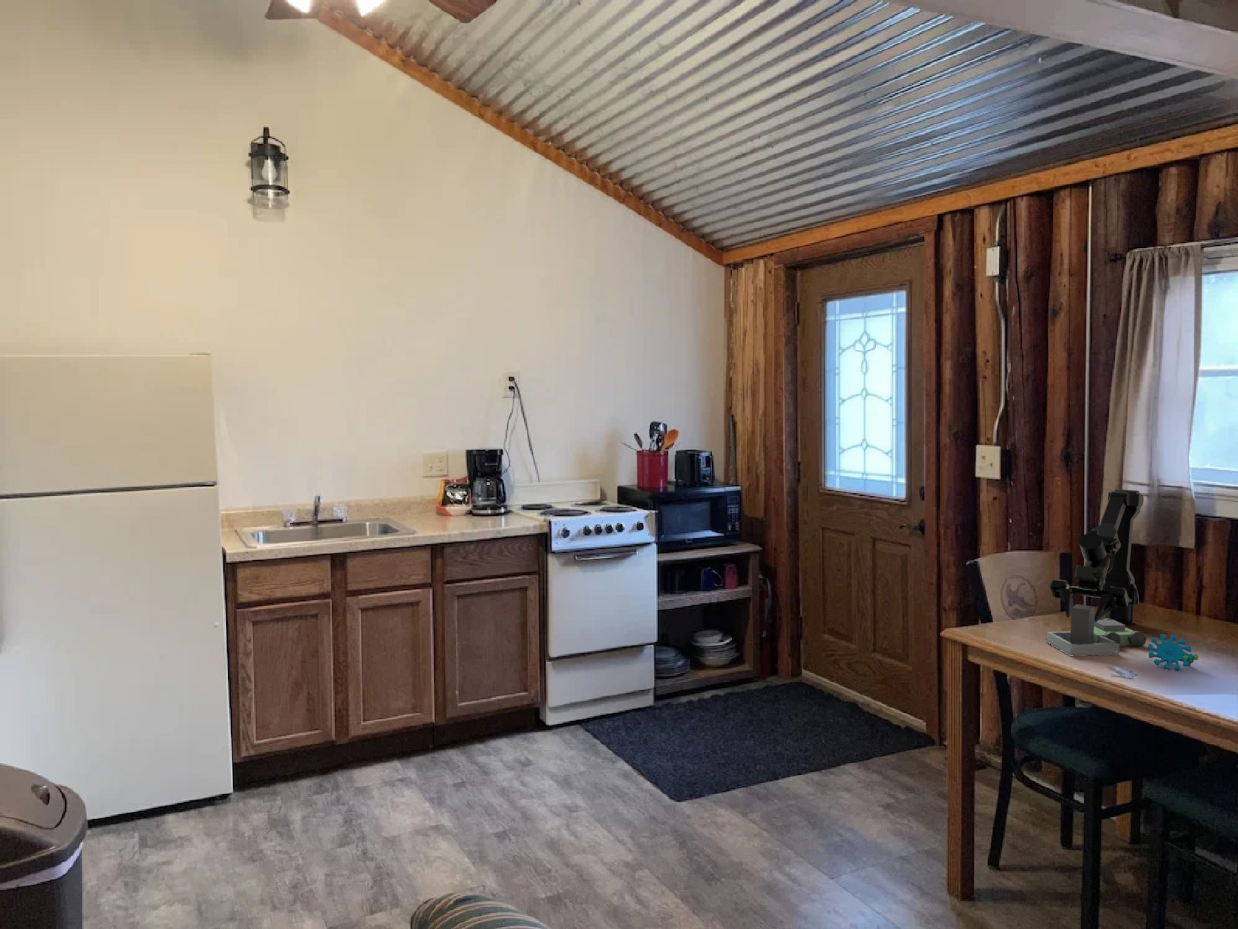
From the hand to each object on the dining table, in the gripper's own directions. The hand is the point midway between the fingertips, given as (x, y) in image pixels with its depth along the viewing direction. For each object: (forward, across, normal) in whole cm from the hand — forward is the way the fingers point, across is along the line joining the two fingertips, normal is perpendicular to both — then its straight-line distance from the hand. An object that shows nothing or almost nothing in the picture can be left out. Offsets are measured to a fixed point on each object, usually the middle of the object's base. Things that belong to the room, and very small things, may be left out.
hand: (1081, 618), depth 251 cm
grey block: (+5, 0, +7) cm, 8 cm away
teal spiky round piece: (+7, +22, +6) cm, 24 cm away
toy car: (-5, +2, +17) cm, 18 cm away
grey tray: (+5, 0, +7) cm, 9 cm away
